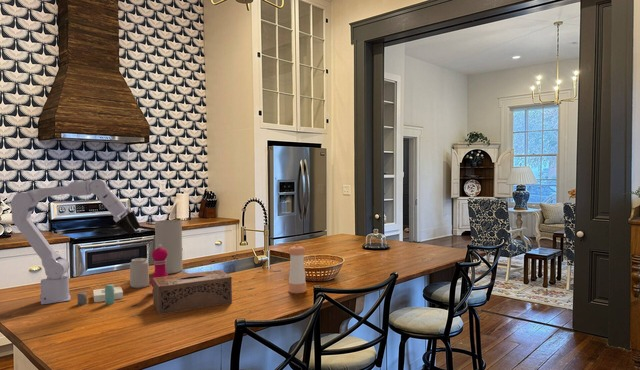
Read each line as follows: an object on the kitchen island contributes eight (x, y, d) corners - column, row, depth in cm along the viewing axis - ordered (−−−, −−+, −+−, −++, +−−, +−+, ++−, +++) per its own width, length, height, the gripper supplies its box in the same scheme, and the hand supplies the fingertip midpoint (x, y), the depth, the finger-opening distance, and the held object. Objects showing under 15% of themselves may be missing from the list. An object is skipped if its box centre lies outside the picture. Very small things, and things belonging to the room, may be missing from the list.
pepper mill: (163, 296, 170) (162, 246, 169) (147, 295, 171) (146, 245, 171) (173, 291, 177) (172, 243, 176) (157, 290, 178) (156, 242, 178)
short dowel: (77, 305, 158) (77, 295, 158) (77, 303, 161) (77, 293, 161) (86, 304, 160) (86, 294, 159) (86, 302, 162) (86, 292, 162)
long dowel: (105, 305, 158) (105, 286, 158) (105, 303, 161) (104, 284, 161) (114, 304, 160) (114, 285, 160) (113, 302, 162) (113, 283, 162)
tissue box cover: (159, 315, 147) (158, 286, 147) (153, 304, 160) (152, 277, 160) (231, 303, 160) (231, 277, 159) (221, 294, 172) (220, 269, 172)
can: (126, 287, 183) (125, 259, 183) (141, 283, 190) (140, 256, 190) (138, 289, 180) (137, 261, 180) (152, 285, 186) (152, 258, 186)
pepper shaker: (304, 293, 170) (303, 246, 170) (286, 292, 172) (285, 245, 171) (308, 288, 178) (307, 243, 177) (291, 288, 179) (290, 242, 179)
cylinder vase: (155, 270, 216) (154, 221, 215) (180, 267, 221) (179, 219, 221) (157, 275, 205) (155, 223, 204) (184, 272, 210) (183, 222, 209)
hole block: (94, 302, 162) (94, 295, 162) (93, 296, 171) (93, 289, 171) (123, 298, 167) (122, 292, 167) (120, 292, 176) (120, 286, 176)
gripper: (115, 202, 164) (138, 229, 167) (127, 195, 178) (148, 220, 181) (100, 212, 164) (124, 239, 167) (113, 205, 178) (134, 230, 181)
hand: (135, 230), depth 174 cm, fingers open, 7 cm apart
